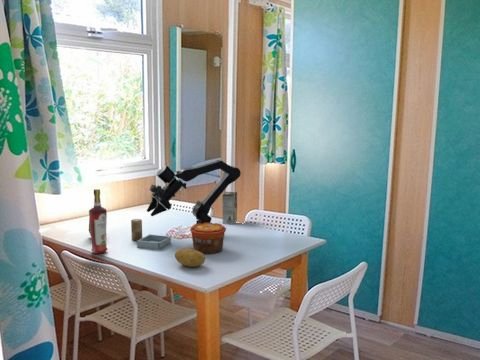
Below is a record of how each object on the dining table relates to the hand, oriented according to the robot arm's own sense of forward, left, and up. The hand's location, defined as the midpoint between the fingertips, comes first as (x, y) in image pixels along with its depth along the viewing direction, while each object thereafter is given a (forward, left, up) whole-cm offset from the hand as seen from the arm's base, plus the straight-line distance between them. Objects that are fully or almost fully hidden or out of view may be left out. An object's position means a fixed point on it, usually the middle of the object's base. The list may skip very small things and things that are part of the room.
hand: (149, 213), depth 233 cm
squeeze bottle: (+25, +7, -12) cm, 28 cm away
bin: (-7, +9, -12) cm, 17 cm away
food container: (-33, +7, -12) cm, 36 cm away
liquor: (+10, +27, -12) cm, 31 cm away
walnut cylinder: (+5, +4, -12) cm, 14 cm away
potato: (-34, +29, -12) cm, 47 cm away
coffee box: (-25, -43, -12) cm, 52 cm away
